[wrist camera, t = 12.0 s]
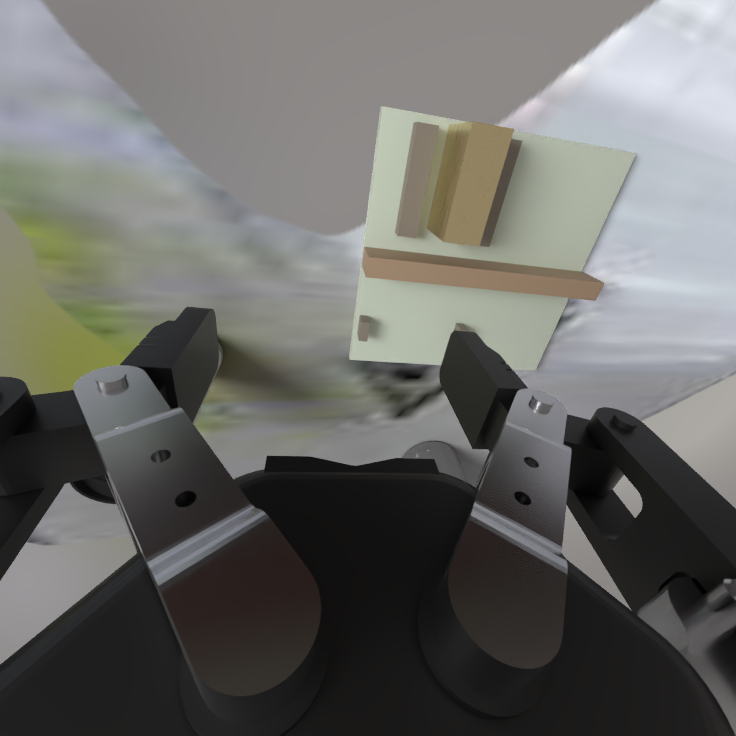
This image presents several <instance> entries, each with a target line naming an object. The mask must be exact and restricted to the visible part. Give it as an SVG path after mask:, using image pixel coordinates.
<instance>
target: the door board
mask: <svg viewBox="0 0 736 736" xmlns="http://www.w3.org/2000/svg"><path fill="white" fill-rule="evenodd" d="M458 123H465V122H464V121H459V120H453V119H448V118H443V117H437V116H432V115H427V114H421V113H416V112H410V111H405V110H399V109H395V108H389V107H384V106H382V107H381V108H380V116H379V124H378V132H377V140H376V148H375V156H374V164H373V171H372V179H371V188H370V195H369V203H368V211H367V219H366V227H365V235H364V243H363V251H362V258H361V266H360V274H359V282H358V290H357V298H356V306H355V314H354V322H353V330H352V338H351V346H350V354H349V358H350V360H363V361H380V362H397V363H413V364H430V365H441V364H442V361H443V358H444V354H445V351H446V348H447V344H448V341H449V338H450V335H451V333H452V332H453V331H455V330H457V331H469V332H476V333H477V334H478V336H479V337H480V338H481V339H482V341H483V342H484V343H485V344H486V345H487V346H488V347H490V348H491V349H492V350H494V351H495V352H497V353H498V354H500V356H501V357H502V358H503V359H504V360H505V361H506V364H508V365H509V366H510V367H511V369H514V370H530V371H535V370H536V368H537V366H538V364H539V362H540V360H541V357H542V355H543V353H544V351H545V349H546V347H547V345H548V342H549V340H550V338H551V336H552V334H553V332H554V330H555V327H556V325H557V323H558V321H559V319H560V317H561V314H562V312H563V310H564V308H565V306H566V304H567V302H568V299H569V298H576V299H586V300H596V299H597V297H598V295H599V293H600V291H601V289H602V287H603V285H604V283H603V282H601V281H599V280H597V279H595V278H593V277H591V276H589V275H587V274H585V273H583V272H582V269H583V267H584V265H585V263H586V261H587V259H588V256H589V254H590V252H591V250H592V248H593V246H594V244H595V241H596V239H597V237H598V235H599V233H600V231H601V229H602V226H603V224H604V222H605V220H606V218H607V216H608V213H609V211H610V209H611V207H612V205H613V203H614V201H615V198H616V196H617V194H618V192H619V190H620V188H621V186H622V183H623V181H624V179H625V177H626V175H627V173H628V171H629V168H630V166H631V164H632V162H633V160H634V158H635V155H636V153H632V152H626V151H621V150H616V149H610V148H605V147H599V146H594V145H589V144H583V143H578V142H572V141H567V140H562V139H556V138H551V137H546V136H540V135H535V134H529V133H524V132H519V131H514V132H513V135H512V139H511V142H510V145H509V149H508V152H507V155H506V159H505V162H504V165H503V169H502V172H501V175H500V179H499V182H498V186H497V189H496V192H495V196H494V199H493V202H492V206H491V209H490V212H489V216H488V219H487V222H486V226H485V229H484V233H483V236H482V239H481V243H480V246H470V245H462V244H454V243H446V242H442V241H441V240H440V239H439V238H438V237H436V236H435V235H434V234H433V233H431V232H430V231H429V230H428V229H427V224H428V219H429V215H430V210H431V205H432V201H433V196H434V191H435V187H436V182H437V177H438V173H439V168H440V163H441V159H442V154H443V149H444V145H445V140H446V135H447V131H448V126H449V125H451V124H458Z"/></svg>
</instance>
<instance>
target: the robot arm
mask: <svg viewBox="0 0 736 736" xmlns="http://www.w3.org/2000/svg"><path fill="white" fill-rule="evenodd" d="M218 363H219V348H218V338H217V327H216V317H215V312H214V310H213V309H207V308H195V307H186V308H185V309H184V311H183V312H182V313H181V314H180V316H179V317H178V318H177V319H176V320H175V321H166V322H164V323H162V324H160V325H158V326H156V327H154V328H153V329H152V330H151V331H150V332H149V333H148V335H147V336H146V338H144V339H143V340H142V341H141V342H140V343H139V345H138V346H137V347H136V348H135V349H134V350H133V351H132V352H131V353H130V354H129V355H128V357H127V358H126V359H125V360H124V361H123V362H122V363H121V364H120V365H117V366H109V367H104V368H100V369H97V370H94V371H91V372H89V373H87V374H85V375H84V376H82V377H81V378H79V379H78V380H77V381H76V383H75V385H74V388H73V389H74V390H71V391H64V392H56V393H48V394H39V395H32V396H31V394H30V392H29V390H28V388H27V386H26V384H25V383H24V381H22V380H20V379H17V378H12V377H0V580H1V579H2V577H3V575H4V574H5V573H6V571H7V570H8V568H9V567H10V565H11V564H12V562H13V561H14V559H15V558H16V556H17V555H18V553H19V552H20V550H21V549H22V547H23V546H24V544H25V543H26V541H27V540H28V538H29V537H30V535H31V534H32V532H33V531H34V529H35V528H36V526H37V525H38V523H39V522H40V520H41V519H42V517H43V516H44V514H45V513H46V511H47V510H48V508H49V507H50V505H51V504H52V502H53V501H54V499H55V498H56V496H57V495H58V493H59V492H60V490H61V489H62V487H63V486H64V484H65V483H70V482H74V481H79V480H84V479H88V478H93V477H98V476H102V475H105V477H106V479H107V482H108V484H109V487H110V489H111V492H112V494H113V496H114V499H115V501H116V504H117V506H118V509H119V511H120V514H121V516H122V519H123V521H124V523H125V526H126V528H127V531H128V533H129V536H130V538H131V541H132V544H133V546H134V549H135V552H136V555H135V556H133V557H132V558H131V559H130V560H128V561H127V562H126V563H125V564H123V565H122V566H121V567H120V568H119V569H118V570H116V571H115V572H114V573H112V574H111V575H110V576H109V577H107V578H106V579H105V580H104V581H103V582H101V583H100V584H99V585H98V586H96V587H95V588H94V589H93V590H91V591H90V592H89V593H88V594H87V595H85V596H84V597H83V598H82V599H80V600H79V601H78V602H77V603H76V604H74V605H73V606H72V607H71V608H69V609H68V610H67V611H66V612H64V613H63V614H62V615H61V616H60V617H58V618H57V619H56V620H55V621H53V622H52V623H51V624H50V625H48V626H47V627H46V628H45V629H44V630H42V631H41V632H40V633H39V634H37V635H36V636H35V637H34V638H32V639H31V640H30V641H29V642H28V643H26V644H25V645H24V646H23V647H21V648H20V649H19V650H18V651H17V652H15V653H14V654H13V655H12V656H10V657H9V658H8V659H7V660H5V661H4V662H3V663H2V664H0V736H736V509H735V508H734V507H733V506H732V505H731V504H730V503H729V502H728V501H727V500H726V499H725V498H723V497H722V496H721V495H720V494H719V493H718V492H717V491H716V490H715V489H714V488H713V487H711V485H709V484H708V483H707V482H706V481H705V480H704V479H703V478H702V477H701V476H700V475H699V474H698V473H697V472H695V471H694V470H693V469H692V468H691V467H690V466H689V465H688V464H687V463H686V462H685V461H683V460H682V459H681V458H680V457H679V456H678V455H677V454H676V453H675V452H674V451H673V450H672V449H671V448H670V447H669V446H667V445H666V444H665V443H664V442H663V441H662V440H661V439H660V438H659V437H658V436H657V435H656V434H655V433H653V432H652V431H651V430H650V429H649V428H648V427H647V426H646V425H645V424H644V423H642V422H641V421H640V420H638V419H637V418H635V417H633V416H631V415H630V414H627V413H625V412H623V411H620V410H617V409H613V408H605V407H603V408H599V409H597V410H596V412H595V414H594V415H593V417H592V418H591V420H587V419H583V418H579V417H575V416H571V415H567V409H566V407H565V406H564V405H563V404H562V403H561V402H560V401H559V400H558V399H556V398H555V397H553V396H551V395H550V394H547V393H545V392H542V391H539V390H536V389H528V388H527V386H526V385H525V384H524V383H523V382H522V380H521V379H520V378H519V377H518V376H517V374H516V373H515V372H514V371H512V369H511V367H510V366H509V365H508V364H506V361H505V360H504V359H503V358H502V357H501V356H500V354H498V353H497V352H495V351H494V350H492V349H491V348H490V347H488V346H487V345H486V344H485V343H484V342H483V341H482V339H481V338H480V337H479V336H478V334H477V333H476V332H469V331H457V330H455V331H453V332H452V333H451V335H450V338H449V341H448V344H447V348H446V351H445V354H444V358H443V361H442V364H441V368H440V383H441V386H442V388H443V390H444V392H445V394H446V396H447V398H448V400H449V402H450V404H451V406H452V408H453V410H454V412H455V414H456V416H457V418H458V420H459V422H460V424H461V426H462V428H463V430H464V432H465V434H466V436H467V438H468V440H469V442H470V444H471V446H472V448H473V449H489V451H490V452H489V454H488V456H487V459H486V461H485V463H484V466H483V468H482V471H481V473H480V475H479V478H478V480H477V483H476V485H475V487H474V486H472V485H470V484H469V483H468V482H467V480H466V478H465V475H464V473H463V470H462V468H461V466H460V463H459V461H458V459H457V456H456V454H455V452H454V450H453V449H452V447H450V446H449V445H448V444H445V443H443V442H437V441H431V442H425V443H421V444H419V445H416V446H414V447H413V448H411V449H410V450H409V451H407V452H406V454H405V455H404V456H403V458H394V459H389V460H384V461H379V462H374V463H369V464H364V465H359V466H352V465H347V464H342V463H337V462H333V461H328V460H324V459H319V458H315V457H303V456H267V459H266V464H265V469H264V470H259V471H255V472H252V473H248V474H245V475H243V476H240V477H238V478H235V479H233V478H232V477H231V475H230V474H229V473H228V471H227V470H226V468H225V467H224V466H223V464H222V463H221V461H220V460H219V459H218V457H217V456H216V455H215V453H214V452H213V450H212V449H211V448H210V446H209V445H208V444H207V442H206V441H205V439H204V438H203V437H202V435H201V434H200V432H199V431H198V430H197V428H196V427H195V426H194V424H193V421H194V419H195V417H196V415H197V413H198V410H199V408H200V406H201V404H202V402H203V400H204V397H205V395H206V393H207V391H208V389H209V387H210V384H211V382H212V380H213V378H214V376H215V374H216V371H217V368H218ZM623 475H625V476H626V477H627V478H628V480H629V481H630V482H631V483H632V484H633V485H634V487H635V488H636V489H637V490H638V492H639V493H640V495H641V497H642V501H643V507H642V510H641V512H640V513H639V515H638V516H637V517H636V518H634V517H633V515H632V514H631V513H630V511H629V510H628V509H627V508H626V506H625V505H624V504H623V502H622V501H621V500H620V499H619V497H618V496H617V495H616V493H615V492H614V491H613V488H614V487H615V485H616V484H617V483H618V481H619V480H620V479H621V478H622V476H623ZM566 504H567V506H568V508H569V509H570V511H571V513H572V514H573V516H574V517H575V519H576V521H577V522H578V524H579V526H580V527H581V528H582V530H583V532H584V533H585V535H586V537H587V539H588V540H589V542H590V543H591V545H592V547H593V548H594V550H595V551H596V553H597V555H598V556H599V558H600V559H601V561H602V563H603V565H604V566H605V568H606V569H607V571H608V572H609V574H610V576H611V577H612V579H613V581H614V582H615V584H616V586H617V587H618V589H619V590H620V592H621V594H622V595H623V597H624V599H625V600H626V602H627V603H628V605H629V607H630V608H631V610H632V611H631V610H630V609H628V608H627V607H626V606H625V605H623V604H622V603H621V602H619V601H618V600H617V599H616V598H615V597H613V596H612V595H611V594H609V593H608V592H607V591H606V590H604V589H603V588H602V587H601V586H599V585H598V584H597V583H596V582H594V581H593V580H592V579H591V578H589V577H588V576H587V575H586V574H584V573H583V572H582V571H581V570H579V569H578V568H577V567H575V566H574V565H573V564H572V563H570V562H569V561H568V560H567V559H566V558H565V557H564V556H563V554H562V542H563V532H564V522H565V512H566Z"/></svg>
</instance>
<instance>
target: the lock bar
mask: <svg viewBox="0 0 736 736" xmlns="http://www.w3.org/2000/svg"><path fill="white" fill-rule="evenodd" d="M513 132H514V129H510V128H505V127H500V126H494V125H489V124H484V123H478V122H465V123H458V124H451V125H449V126H448V131H447V135H446V140H445V145H444V149H443V154H442V159H441V163H440V168H439V173H438V177H437V182H436V187H435V191H434V196H433V201H432V205H431V210H430V215H429V219H428V224H427V229H428V230H429V231H430V232H431V233H433V234H434V235H435V236H436V237H438V238H439V239H440V240H441V241H442V242H446V243H454V244H462V245H470V246H480V243H481V239H482V236H483V233H484V229H485V226H486V222H487V219H488V216H489V212H490V209H491V206H492V202H493V199H494V196H495V192H496V189H497V186H498V182H499V179H500V175H501V172H502V169H503V165H504V162H505V159H506V155H507V152H508V149H509V145H510V142H511V139H512V135H513Z"/></svg>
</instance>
